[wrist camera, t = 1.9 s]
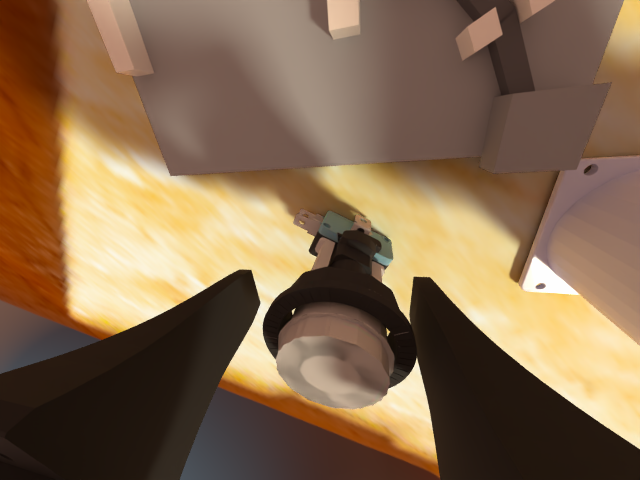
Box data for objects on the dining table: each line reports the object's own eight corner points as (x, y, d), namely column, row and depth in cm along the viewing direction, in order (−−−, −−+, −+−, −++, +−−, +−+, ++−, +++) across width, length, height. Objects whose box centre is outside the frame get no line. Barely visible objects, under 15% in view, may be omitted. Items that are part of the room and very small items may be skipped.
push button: (289, 239, 17) (202, 364, 8) (316, 173, 14) (228, 256, 6) (369, 277, 17) (365, 440, 8) (410, 219, 14) (467, 370, 6)
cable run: (495, -181, 7) (525, -255, 6) (593, 142, 10) (628, 145, 9) (376, -49, 9) (377, -80, 7) (490, 192, 12) (506, 202, 10)
